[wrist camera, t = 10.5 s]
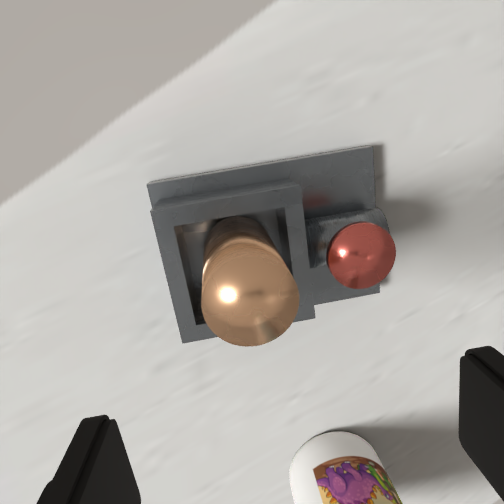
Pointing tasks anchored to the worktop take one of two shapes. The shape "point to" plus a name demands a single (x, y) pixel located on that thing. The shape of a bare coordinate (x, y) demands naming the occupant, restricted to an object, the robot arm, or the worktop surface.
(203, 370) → the worktop surface
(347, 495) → the milk bottle
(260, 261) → the pipe stub
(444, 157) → the worktop surface
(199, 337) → the block
